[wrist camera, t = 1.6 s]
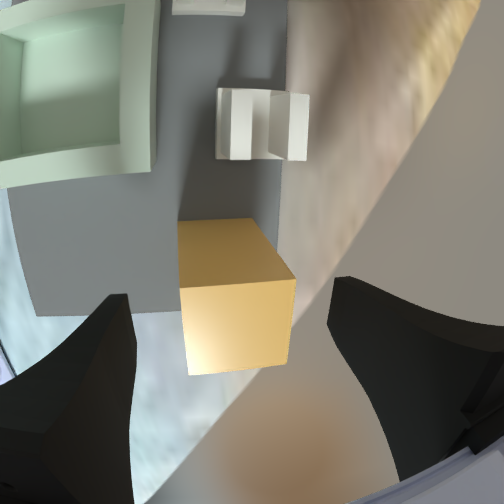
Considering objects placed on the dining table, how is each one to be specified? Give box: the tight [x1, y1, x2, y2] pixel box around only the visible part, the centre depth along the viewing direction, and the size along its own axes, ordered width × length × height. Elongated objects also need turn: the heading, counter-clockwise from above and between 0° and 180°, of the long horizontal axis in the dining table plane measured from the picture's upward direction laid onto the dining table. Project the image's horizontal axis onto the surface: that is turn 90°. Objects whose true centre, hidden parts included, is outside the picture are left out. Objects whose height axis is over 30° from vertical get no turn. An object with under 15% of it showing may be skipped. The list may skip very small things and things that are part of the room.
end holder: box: [0, 0, 161, 189], centre depth 9 cm, size 7×7×3 cm
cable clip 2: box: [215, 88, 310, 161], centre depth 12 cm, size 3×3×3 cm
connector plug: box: [177, 218, 296, 375], centre depth 13 cm, size 3×3×6 cm
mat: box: [7, 0, 287, 316], centre depth 12 cm, size 13×18×1 cm
